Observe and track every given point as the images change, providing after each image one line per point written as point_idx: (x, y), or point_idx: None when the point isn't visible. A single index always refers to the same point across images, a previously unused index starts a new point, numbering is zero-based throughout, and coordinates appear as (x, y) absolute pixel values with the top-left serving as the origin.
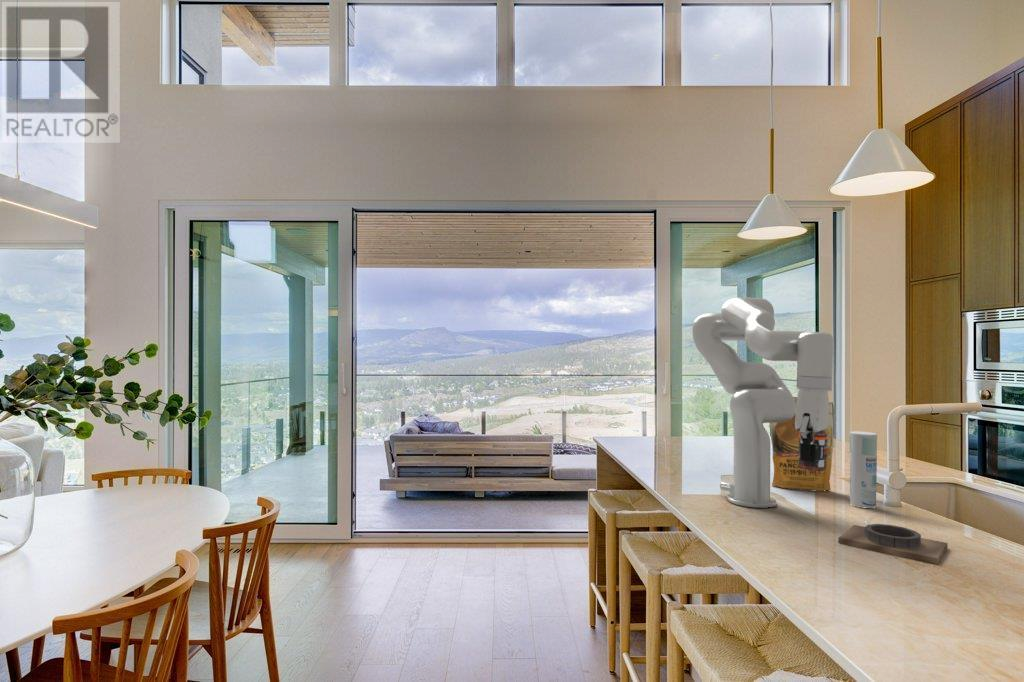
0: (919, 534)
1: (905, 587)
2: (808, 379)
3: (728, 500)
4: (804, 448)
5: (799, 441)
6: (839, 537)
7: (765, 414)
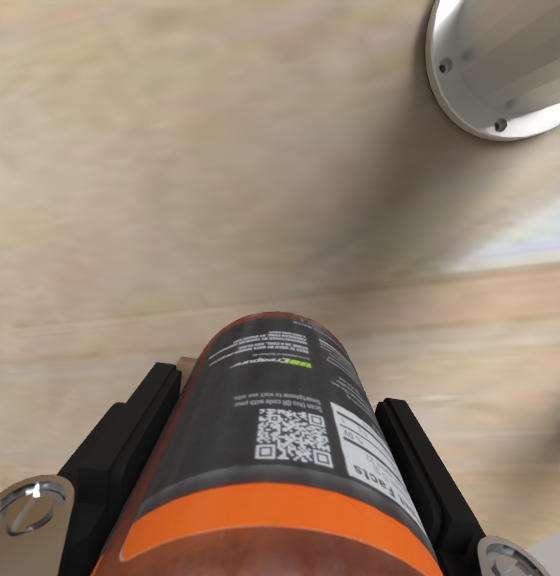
0: None
1: None
2: None
3: None
4: (74, 464)
5: (206, 440)
6: (177, 366)
7: None
